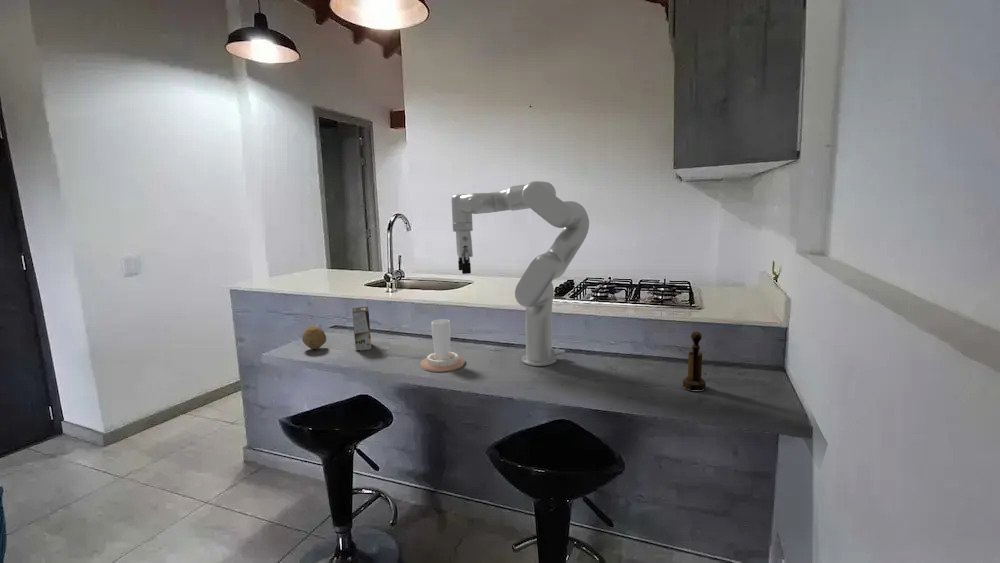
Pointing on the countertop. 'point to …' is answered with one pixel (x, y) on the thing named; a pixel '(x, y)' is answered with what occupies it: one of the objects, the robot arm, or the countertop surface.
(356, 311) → the coffee box
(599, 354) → the countertop surface
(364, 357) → the countertop surface
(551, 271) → the robot arm
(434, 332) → the drinking glass
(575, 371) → the countertop surface
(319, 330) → the natural sponge
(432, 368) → the tan saucer
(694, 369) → the dark chess pawn
